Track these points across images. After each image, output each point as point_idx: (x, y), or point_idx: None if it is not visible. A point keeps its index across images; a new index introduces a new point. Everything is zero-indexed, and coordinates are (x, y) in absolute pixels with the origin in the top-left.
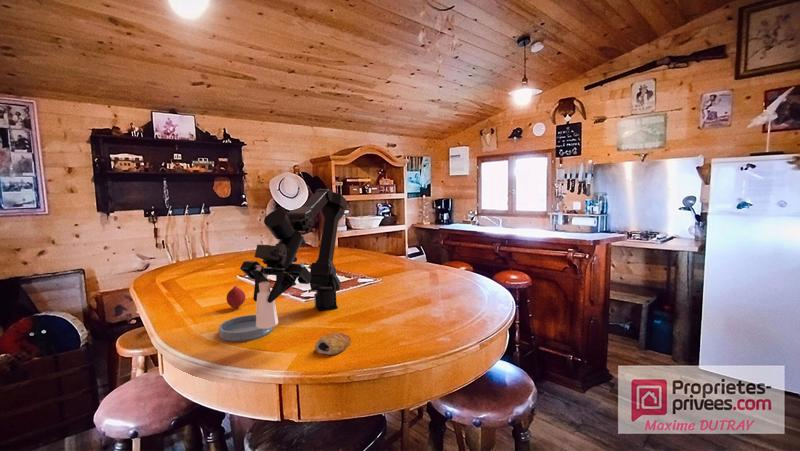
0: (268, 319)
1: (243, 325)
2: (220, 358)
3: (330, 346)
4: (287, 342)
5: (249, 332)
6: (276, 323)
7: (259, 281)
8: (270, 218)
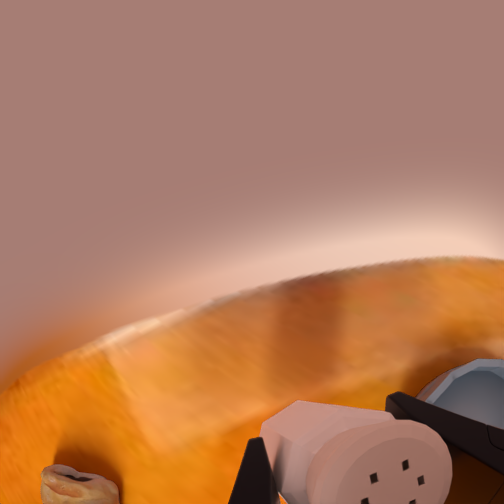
0: (265, 432)
1: None
2: (344, 297)
3: (45, 469)
4: None
5: None
6: None
7: (496, 471)
8: None
